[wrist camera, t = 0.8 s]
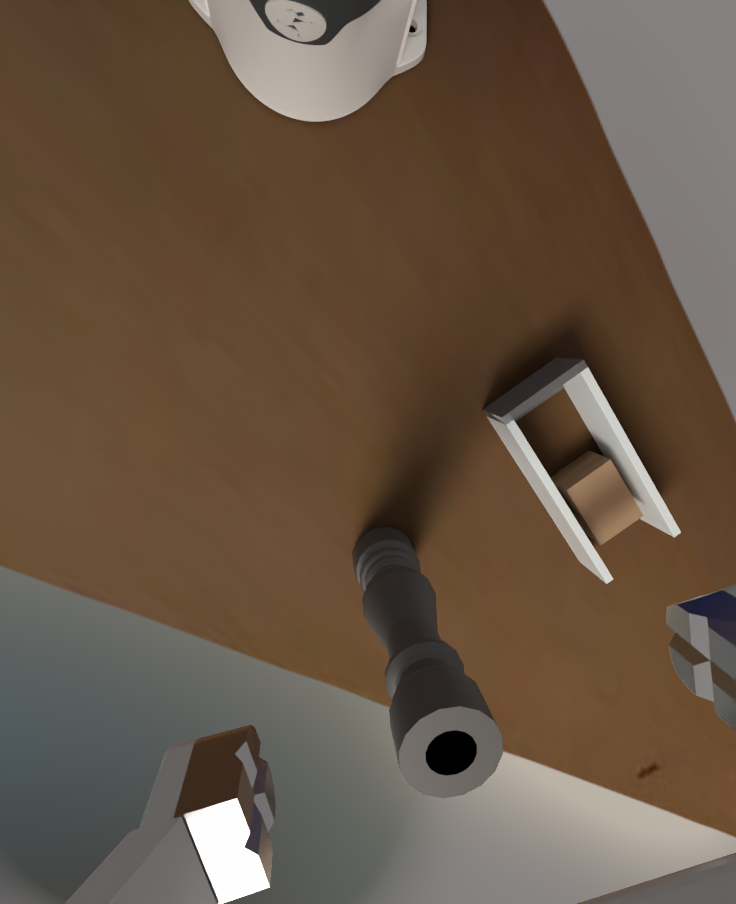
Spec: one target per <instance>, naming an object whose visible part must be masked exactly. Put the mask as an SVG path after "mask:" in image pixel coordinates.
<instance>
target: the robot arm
mask: <svg viewBox="0 0 736 904" xmlns="http://www.w3.org/2000/svg"><path fill="white" fill-rule="evenodd" d="M189 2H190V4H191V5H192V6H193V8H194V9H195V10H196V11H197V13H198V14H199V15H200V16H201V17H202V18H203V19H204V20H205V21H206V22H207V23H208V25H209V26H210V27H211V28H212V29H213V30H214V32H215V33H216V35H217V37H218V39H219V41H220V43H221V46H222V48H223V50H224V53H225V55H226V57H227V59H228V61H229V63H230V65H231V67H232V69H233V71H234V72H235V74H236V75H237V77H238V78H239V80H240V81H241V82H242V83H243V85H244V86H245V87H246V88H247V89H248V90H249V91H250V92H251V93H252V94H253V95H254V96H255V97H256V98H257V99H258V100H259V101H261V102H262V103H263V104H265V105H266V106H268V107H269V108H271V109H273V110H274V111H276V112H278V113H280V114H283V115H285V116H288V117H290V118H294V119H298V120H303V121H315V122H317V121H329V120H333V119H337V118H341V117H343V116H346V115H348V114H350V113H352V112H354V111H356V110H357V109H359V108H360V107H362V106H363V105H365V104H366V103H367V102H368V101H369V100H370V99H371V98H372V97H373V96H374V95H375V94H376V93H377V92H378V91H379V89H380V88H381V87H382V86H383V85H384V84H385V83H386V82H387V81H388V80H389V79H390V78H391V77H392V76H394V75H397V74H399V73H402V72H404V71H406V70H408V69H410V68H412V67H414V66H416V65H417V64H418V63H419V62H420V61H421V60H422V59H423V57H424V54H425V49H426V43H427V0H189ZM410 26H413V27H414V28H415V32H414V33H411V32H409V29H410ZM666 620H667V625H668V626H669V627H670V628H671V629H672V630H673V631H674V632H675V634H674V636H673V638H672V640H671V642H670V644H669V649H670V655H671V661H672V663H673V665H674V667H675V670H676V672H677V674H678V676H679V677H680V678H681V680H682V681H683V682H684V684H685V685H686V686H687V687H688V688H689V689H690V690H691V691H692V692H693V693H694V694H695V695H697V696H700V697H702V698H705V699H708V700H711V701H713V702H714V707H715V713H716V714H717V715H718V716H719V717H721V718H722V719H723V720H724V721H725V722H726V723H727V724H728V725H729V726H730V727H732V728H733V729H734V730H735V731H736V585H733V586H730V587H726V588H723V589H720V590H717V591H716V592H713V593H710V594H706V595H703V596H700V597H696V598H693V599H689V600H686V601H682V602H679V603H676V604H672V605H669V606H668V608H667V611H666ZM259 751H260V740H259V737H258V735H257V732H256V730H255V728H254V727H253V726H251V725H249V726H245V727H241V728H237V729H234V730H230V731H226V732H222V733H218V734H214V735H211V736H207V737H203V738H200V739H198V740H193V741H189V742H185V743H182V744H178V745H174V746H171V747H170V748H169V749H168V751H167V752H166V753H165V756H164V759H163V761H162V764H161V767H160V770H159V773H158V776H157V779H156V782H155V785H154V787H153V790H152V793H151V796H150V799H149V802H148V805H147V807H146V810H145V813H144V816H143V819H142V822H141V825H140V828H139V829H137V830H134V831H130V833H128V835H127V836H126V837H125V838H124V839H123V840H122V841H121V842H120V843H119V845H118V846H117V847H116V848H115V849H114V850H113V851H112V852H111V853H110V855H109V856H108V857H107V858H106V859H105V860H104V861H103V862H102V863H101V864H100V866H99V867H98V868H97V869H96V870H95V871H94V872H93V873H92V874H91V875H90V877H89V878H88V879H87V880H86V881H85V882H84V883H83V884H82V885H81V886H80V888H79V889H78V890H77V891H76V892H75V893H74V894H73V895H72V896H71V898H70V899H69V900H68V901H67V902H66V903H65V904H222V903H224V902H227V901H231V900H234V899H236V898H239V897H242V896H245V895H248V894H251V893H254V892H257V891H260V890H263V889H265V888H268V887H270V878H271V865H272V851H273V846H272V843H271V840H270V837H269V834H268V831H269V829H270V828H271V826H272V825H273V823H274V821H275V796H274V786H273V781H272V776H271V772H270V769H269V766H268V763H267V762H266V761H265V760H263V759H261V758H260V757H259ZM578 904H736V853H734V854H731V855H727V856H724V857H721V858H718V859H715V860H712V861H709V862H706V863H703V864H699V865H697V866H693V867H690V868H687V869H684V870H681V871H678V872H675V873H671V874H668V875H665V876H662V877H659V878H656V879H653V880H650V881H646V882H643V883H640V884H637V885H634V886H631V887H628V888H625V889H621V890H619V891H615V892H612V893H609V894H606V895H603V896H600V897H597V898H593V899H590V900H587V901H584V902H581V903H578Z"/></svg>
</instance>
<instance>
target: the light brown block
mask: <svg viewBox="0 0 736 904" xmlns="http://www.w3.org/2000/svg"><path fill="white" fill-rule="evenodd" d="M550 478H551V480H552V482H553V483H554V485H555V486H556V488H557V490H558V491H559V493H560V494H561V496H562V498H563V499H564V501H565V502H566V504H567V506H568V507H569V509H570V510H571V512H572V514H573V515H574V517H575V518H576V520H577V522H578V523H579V525H580V526H581V528H582V530H583V531H584V533H585V534H586V535H587V536H588V537H590V538H591V539H593V540H594V541H595V542H597V543H598V544H600V545H602V544H604V543H605V542H606V541H608V540H609V539H611V538H612V537H614V536H615V535H616V534H618V533H619V532H621V531H622V530H624V529H625V528H627V527H628V526H629V525H631V524H632V523H634V522H635V521H637V520H638V519H640V518H641V517H642V516H644V515H643V514H642V512H641V510H640V509H639V507H638V505H637V503H636V502H635V500H634V498H633V497H632V495H631V493H630V491H629V490H628V488H627V486H626V485H625V483H624V481H623V479H622V478H621V476H620V474H619V473H618V471H617V469H616V467H615V466H614V464H613V462H612V461H611V459H609V458H606V457H604V456H601V455H599V454H596V453H594V452H591V451H587V452H586V453H584V454H583V455H582V456H580V457H579V458H577V459H576V460H575V461H573V462H572V463H570V464H569V465H567V466H566V467H565V468H563V469H562V470H560V471H559V472H557V473H556V474H555V475H553V476H552V477H550Z"/></svg>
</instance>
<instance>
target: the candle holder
mask: <svg viewBox="0 0 736 904" xmlns="http://www.w3.org/2000/svg"><path fill="white" fill-rule="evenodd" d="M352 554H353V565H354V570H355V575H356V580H357V582H358V583H359V585H360V587H361V589H362V590H363V592H364V595H363V599H362V601H363V612H364V616H365V618H366V620H367V622H368V623H369V625H370V627H371V628H372V630H373V631H374V632H375V634H376V635H377V637H378V638H379V639H380V641H381V642H382V644H383V645H384V646H385V648H386V649H387V651H388V655H389V659H390V660H389V663H388V665H387V668H386V671H385V681H386V690H387V692H388V694H389V695H390V697H391V699H392V704H391V706H390V709H389V712H390V726H391V731H392V735H393V740H394V744H395V749H396V754H397V759H398V763H399V768H400V771H401V772H402V774H403V776H404V778H405V779H406V781H407V782H408V784H409V785H410V786H412V787H413V788H415V789H416V790H418V791H419V792H421V793H422V794H424V795H429V796H435V797H440V798H446V797H452V796H458V795H464V794H466V793H467V792H469V791H471V790H473V789H475V788H477V787H479V786H481V785H482V784H483V783H484V782H485V781H486V780H487V779H488V778H489V777H490V776H491V775H492V774H493V773H494V772H495V770H496V768H497V766H498V763H499V761H500V759H501V756H502V754H503V747H502V735H501V733H500V730H499V728H498V726H497V724H496V722H495V720H494V718H493V716H492V714H491V712H490V710H489V708H488V706H487V704H486V702H485V700H484V698H483V696H482V694H481V692H480V690H479V688H478V686H477V684H476V682H475V681H473V680H472V679H471V678H469V677H468V676H467V675H465V674H464V665H463V663H462V661H461V659H460V657H459V655H458V653H457V652H456V650H455V649H453V648H452V647H451V646H449V645H448V644H447V643H445V642H444V641H441V639H440V637H439V634H438V632H437V615H436V594H435V592H434V590H433V588H432V586H431V584H430V582H429V580H428V578H426V577H425V576H424V575H422V574H421V573H420V565H419V559H418V557H417V555H416V553H415V551H414V549H413V547H412V545H411V543H410V541H409V539H408V537H407V536H406V535H404V534H403V533H402V532H401V531H399V530H397V529H394V528H390V527H379V528H374V529H372V530H370V531H368V532H366V533H364V534H363V535H362V537H361V538H360V539H359V540H358V541H357V542H356V545H355V548H354V551H353V553H352Z"/></svg>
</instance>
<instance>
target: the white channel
mask: <svg viewBox="0 0 736 904" xmlns="http://www.w3.org/2000/svg"><path fill="white" fill-rule="evenodd" d="M563 388H565V390H566V392H567V394H568V395H569V397H570V399H571V400H572V402H573V404H574V406H575V407H576V409H577V411H578V412H579V414H580V416H581V418H582V419H583V421H584V423H585V424H586V426H587V428H588V430H589V431H590V433H591V435H592V436H593V438H594V440H595V442H596V443H597V445H598V447H599V448H600V450H601V452H602V454H603V455H604V457H606V458H609V459H611V461H612V462H613V464H614V466H615V467H616V469H617V471H618V473H619V474H620V476H621V478H622V479H623V481H624V483H625V485H626V486H627V488H628V490H629V491H630V493H631V495H632V497H633V498H634V500H635V502H636V503H637V505H638V507H639V509H640V510H641V512H642V514H643V515H644V516H642V517H641V518H640V519H641V520H643V521H645V522H647V523H649V524H650V525H652V526H654V527H656V528H658V529H660V530H662V531H663V532H665V533H667V534H669V535H671V536H673V537H675V536H677V535H678V534H680V533H681V532H680V530H679V528H678V526H677V524H676V523H675V521H674V519H673V517H672V516H671V514H670V512H669V510H668V508H667V507H666V505H665V503H664V501H663V500H662V498H661V496H660V494H659V492H658V491H657V489H656V487H655V485H654V484H653V482H652V480H651V478H650V476H649V475H648V473H647V471H646V469H645V468H644V466H643V464H642V462H641V460H640V459H639V457H638V455H637V453H636V452H635V450H634V448H633V446H632V444H631V443H630V441H629V439H628V437H627V436H626V434H625V432H624V430H623V428H622V427H621V425H620V423H619V421H618V420H617V418H616V416H615V414H614V412H613V411H612V409H611V407H610V405H609V404H608V402H607V400H606V398H605V396H604V395H603V393H602V391H601V389H600V388H599V386H598V384H597V382H596V380H595V379H594V377H593V375H592V373H591V372H590V370H589V368H588V366H587V364H586V363H585V361H584V359H572V358H559V357H556V358H554V359H553V360H552V361H550V362H549V363H547V364H546V365H545V366H543V367H542V368H540V369H539V370H537V371H536V372H535V373H533V374H532V375H530V376H529V377H528V378H526V379H525V380H523V381H522V382H521V383H519V384H518V385H516V386H515V387H514V388H512V389H511V390H509V391H508V392H507V393H505V394H504V395H502V396H501V397H500V398H498V399H497V400H495V401H494V402H492V403H491V404H490V405H488V406H487V407H485V408H484V409H483V412H484V413H485V415H486V416H487V418H488V419H489V421H490V423H491V424H492V426H493V427H494V429H495V430H496V432H497V433H498V435H499V437H500V438H501V440H502V441H503V443H504V444H505V446H506V448H507V449H508V451H509V452H510V454H511V455H512V457H513V458H514V460H515V462H516V463H517V465H518V466H519V468H520V469H521V471H522V473H523V474H524V476H525V477H526V479H527V480H528V482H529V483H530V485H531V487H532V488H533V490H534V491H535V493H536V494H537V496H538V498H539V499H540V501H541V502H542V504H543V505H544V507H545V508H546V510H547V512H548V513H549V515H550V516H551V518H552V519H553V521H554V523H555V524H556V526H557V527H558V529H559V530H560V532H561V533H562V535H563V537H564V538H565V540H566V541H567V543H568V544H569V546H570V547H571V549H572V551H573V552H574V554H575V555H576V557H577V558H578V560H579V562H581V563H582V564H583V565H584V566H585V567H587V568H588V569H589V570H590V571H591V572H593V573H594V574H595V575H596V576H598V577H599V578H600V579H601V580H602V581H604V582H605V583H606V584H607V583H609V582H610V581H612V580H613V578H612V576H611V574H610V573H609V571H608V570H607V568H606V566H605V565H604V563H603V562H602V560H601V558H600V557H599V555H598V554H597V552H596V550H595V549H594V547H593V546H592V544H591V542H590V541H589V539H588V538H587V536H586V534H585V533H584V531H583V530H582V528H581V526H580V525H579V523H578V522H577V520H576V518H575V517H574V515H573V514H572V512H571V510H570V509H569V507H568V506H567V504H566V502H565V501H564V499H563V498H562V496H561V494H560V493H559V491H558V490H557V488H556V486H555V485H554V483H553V482H552V480H551V478H550V477H549V475H548V474H547V472H546V470H545V469H544V467H543V466H542V464H541V462H540V461H539V459H538V458H537V456H536V454H535V453H534V451H533V450H532V448H531V446H530V445H529V443H528V442H527V440H526V438H525V437H524V435H523V434H522V432H521V430H520V429H519V427H518V426H517V424H516V421H517V420H519V419H520V418H522V417H523V416H524V415H526V414H527V413H529V412H530V411H532V410H533V409H534V408H536V407H537V406H539V405H540V404H541V403H543V402H544V401H546V400H547V399H549V398H550V397H551V396H553V395H554V394H556V393H557V392H558V391H560V390H561V389H563Z"/></svg>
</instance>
